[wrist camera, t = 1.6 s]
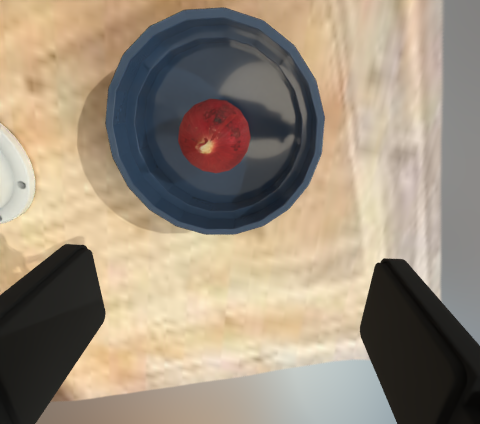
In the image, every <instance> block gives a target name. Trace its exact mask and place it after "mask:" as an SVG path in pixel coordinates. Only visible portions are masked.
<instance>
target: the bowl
mask: <svg viewBox="0 0 480 424" xmlns="http://www.w3.org/2000/svg"><path fill="white" fill-rule="evenodd" d="M208 99H218V100H226V101H228V102H229V103H231V104H232V105H234V106H235V107H237V108H238V109H240V111H241V112H242V114H243V116H244V117H245V119H246V121H247V122H248V125H249V131H250V137H251V138H250V142H249V147H248V151H247V152H246V154H245V156H244V157H243V159H242V160H241V162H240V163H239V164H237V165H236V166H235V167H233V168H232V169H231V170H229V171H224V172H220V173H212V172H206V171H202V170H201V169H199V168H197V167H195V166H194V165H192V164H191V163H190V162H189V161H188V160H187V158H186V157H185V156H184V155H183V153H182V150H181V148H180V145H179V142H178V137H179V127H180V124H181V122H182V120H183V117H184V115H185V114H186V113H187V112H188V111H189V110H190V109H191V108H192V107H193V106H194V105H195V104H198V103H200V102H203V101H205V100H208ZM324 117H325V116H324V112H323V107H322V103H321V99H320V95H319V90H318V86H317V82H316V79H315V78H314V76H313V74H312V73H311V71H310V69H309V68H308V66H307V65H306V63H305V61H304V60H303V58H302V57H301V55H300V53H299V52H298V50H297V48H296V47H295V46H294V45H293V44H292V43H291V42H290V41H288V40H287V39H286V38H285V37H283V36H282V35H281V34H280V33H278V32H277V31H276V30H275V29H273V28H272V27H271V26H270V25H268V24H267V23H266V22H265V21H263V20H261V19H258V18H255V17H252V16H249V15H246V14H243V13H240V12H237V11H234V10H231V9H228V8H206V9H189V10H183V11H181V12H179V13H177V14H174V15H172V16H170V17H168V18H166V19H164V20H162V21H160V22H157V23H155V24H153V25H151V26H150V27H148V28H147V29H146V30H145V32H144V33H143V34H142V35H141V36H140V37H139V38H138V39H137V40H136V41H135V42H134V43H133V44H132V45H131V46H130V47H129V49H128V50H127V51H126V52H125V53H124V55H123V56H122V58H121V60H120V63H119V65H118V67H117V70H116V72H115V74H114V77H113V79H112V81H111V84H110V86H109V89H108V99H107V111H106V122H105V124H106V129H107V134H108V138H109V143H110V148H111V152H112V157H113V159H114V161H115V163H116V165H117V167H118V169H119V171H120V173H121V174H122V176H123V178H124V180H125V182H126V184H127V186H128V187H129V189H130V190H131V191H132V192H133V193H134V194H135V195H136V196H137V197H138V198H139V199H140V200H141V201H142V202H143V203H144V204H145V206H146V207H147V208H148V209H149V210H151V211H152V212H154V213H155V214H157V215H159V216H160V217H162V218H164V219H165V220H167V221H169V222H170V223H172V224H173V225H175V226H177V227H181V228H184V229H188V230H191V231H195V232H198V233H202V234H206V235H208V234H238V233H241V232H245V231H248V230H252V229H255V228H258V227H262V226H264V225H266V224H267V223H269V222H270V221H272V220H273V219H275V218H276V217H278V216H279V215H281V214H282V213H284V212H285V211H287V210H288V209H289V208H290V207H291V206H292V205H293V204H294V202H295V201H296V200H297V199H298V198H299V196H300V195H301V194H302V193H303V192H304V190H305V189H306V188H307V187H308V185H309V184H310V181H311V179H312V176H313V174H314V171H315V169H316V167H317V164H318V162H319V159H320V157H321V153H322V146H323V133H324V121H325V118H324Z"/></svg>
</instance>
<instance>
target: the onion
mask: <svg viewBox="0 0 480 424" xmlns="http://www.w3.org/2000/svg"><path fill="white" fill-rule="evenodd" d="M250 138H251V137H250V131H249V125H248V122H247V121H246V119H245V117H244V116H243V114H242V112H241V111H240V109H238V108H237V107H235V106H234V105H232V104H231V103H229V102H228V101H226V100H218V99H208V100H205V101H203V102H200V103H198V104H195V105H194V106H193V107H192V108H191V109H190V110H189V111H188V112H187V113H186V114H185V115H184V117H183V120H182V122H181V124H180V127H179V137H178V142H179V145H180V148H181V150H182V153H183V155H184V156H185V157H186V158H187V160H188V161H189V162H190V163H191V164H192V165H194V166H195V167H197V168H199V169H201V170H202V171H206V172H212V173H220V172H224V171H229V170H231V169H232V168H233V167H235V166H236V165H237V164H239V163H240V162H241V160H242V159H243V157H244V156H245V154H246V152H247V151H248V147H249V142H250Z"/></svg>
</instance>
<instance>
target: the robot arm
mask: <svg viewBox="0 0 480 424" xmlns="http://www.w3.org/2000/svg"><path fill="white" fill-rule="evenodd" d="M34 194H35V176H34V170H33V168H32V165H31V162H30V159H29V157H28V156H27V154H26V152H25V150H24V148H23V147H22V145H21V144H20V143H19V141H18V140H17V139H16V137H15V136H14V135H13V134H12V133H11V132H10V131H9V130H8V129H7V128H6V127H5V126H4V125H2V124H1V123H0V224H2V223H6V222H8V221H11V220H13V219H15V218H17V217H18V216H20V215H22V214H23V213H24V212H25V211H26V210H27V209H28V208H29V206H30V205H31V203H32V201H33V198H34ZM104 319H105V308H104V304H103V299H102V295H101V290H100V286H99V281H98V277H97V272H96V268H95V264H94V259H93V255H92V252H91V250H88V249H87V247H86V246H84V245H73V244H65V245H64V246H62V247H61V248H59V249H58V250H57V251H56V252H54V253H53V254H52V255H51V256H49V257H48V258H47V259H46V260H44V261H43V262H42V263H40V264H39V265H38V266H37V267H35V268H34V269H33V270H32V271H30V272H29V273H28V274H27V275H25V276H24V277H23V278H21V279H20V280H19V281H18V282H16V283H15V284H14V285H13V286H11V287H10V288H9V289H8V290H6V291H5V292H4V293H2V294H1V295H0V424H35V423H36V422H37V420H38V419H39V417H40V416H41V414H42V413H43V412H44V410H45V408H46V407H47V405H48V404H49V403H50V401H51V400H52V398H53V397H54V395H55V394H56V392H57V391H58V389H59V388H60V386H61V385H62V383H63V382H64V380H65V379H66V377H67V376H68V374H69V373H70V371H71V370H72V368H73V367H74V365H75V364H76V362H77V361H78V359H79V358H80V356H81V355H82V353H83V352H84V350H85V349H86V347H87V346H88V344H89V343H90V341H91V340H92V338H93V337H94V335H95V334H96V333H97V331H98V330H99V328H100V327H101V325H102V324H103V322H104ZM360 334H361V338H362V341H363V343H364V345H365V348H366V350H367V353H368V355H369V357H370V360H371V362H372V364H373V367H374V369H375V371H376V374H377V376H378V379H379V381H380V384H381V386H382V388H383V391H384V393H385V395H386V398H387V400H388V402H389V405H390V407H391V410H392V412H393V414H394V417H395V419H396V422H397V424H480V346H479V344H478V343H477V342H476V341H475V340H474V339H473V338H472V336H471V335H470V334H469V333H468V332H467V331H466V330H465V328H464V327H463V326H462V325H461V324H460V323H459V322H458V320H457V319H456V318H455V317H454V316H453V315H452V314H451V312H450V311H449V310H448V309H447V308H446V307H445V306H444V304H443V303H442V302H441V301H440V300H439V299H438V297H437V296H436V295H435V294H434V293H433V292H432V291H431V289H430V288H429V287H428V286H427V285H426V284H425V283H424V281H423V280H422V279H421V278H420V277H419V276H418V275H417V273H416V272H415V271H414V270H413V269H412V268H411V267H410V265H409V264H408V263H407V262H406V261H405V260H403V259H383V260H382V261H381V263H377V264H376V265H375V268H374V272H373V276H372V280H371V284H370V289H369V293H368V297H367V301H366V305H365V309H364V313H363V317H362V321H361V325H360Z"/></svg>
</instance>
